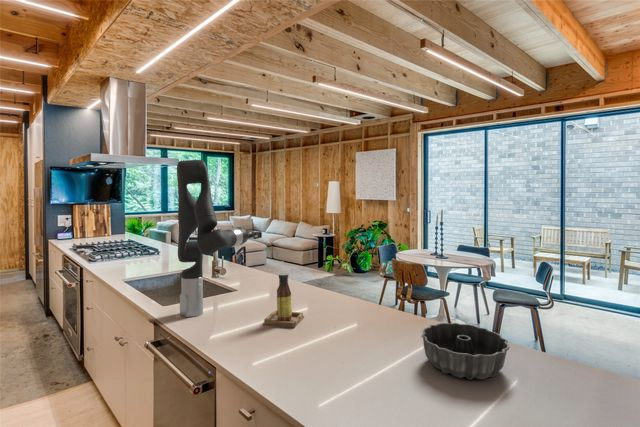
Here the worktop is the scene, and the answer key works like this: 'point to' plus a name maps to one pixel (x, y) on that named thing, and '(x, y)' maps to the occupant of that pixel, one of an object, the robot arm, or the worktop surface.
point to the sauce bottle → (284, 299)
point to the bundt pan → (465, 350)
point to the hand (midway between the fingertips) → (251, 233)
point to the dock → (292, 323)
